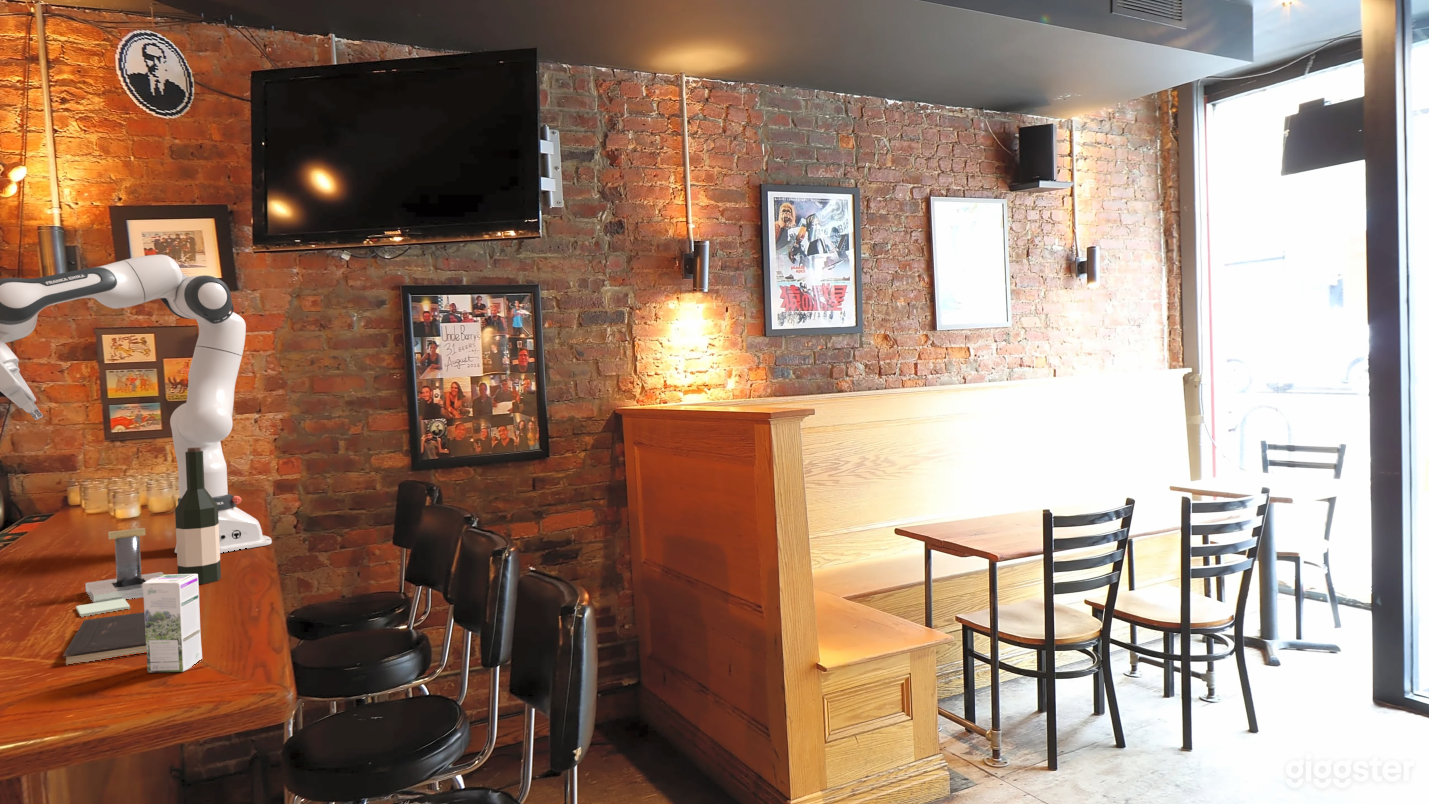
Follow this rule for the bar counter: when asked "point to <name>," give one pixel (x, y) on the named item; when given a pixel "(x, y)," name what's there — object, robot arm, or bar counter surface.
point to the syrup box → (172, 622)
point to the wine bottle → (197, 525)
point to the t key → (128, 556)
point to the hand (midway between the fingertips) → (35, 414)
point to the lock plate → (116, 589)
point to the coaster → (102, 607)
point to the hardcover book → (107, 638)
